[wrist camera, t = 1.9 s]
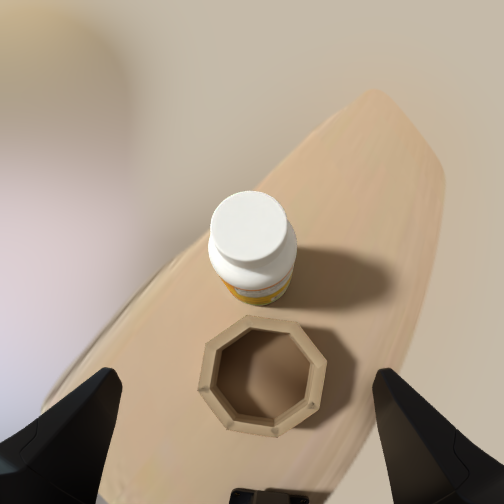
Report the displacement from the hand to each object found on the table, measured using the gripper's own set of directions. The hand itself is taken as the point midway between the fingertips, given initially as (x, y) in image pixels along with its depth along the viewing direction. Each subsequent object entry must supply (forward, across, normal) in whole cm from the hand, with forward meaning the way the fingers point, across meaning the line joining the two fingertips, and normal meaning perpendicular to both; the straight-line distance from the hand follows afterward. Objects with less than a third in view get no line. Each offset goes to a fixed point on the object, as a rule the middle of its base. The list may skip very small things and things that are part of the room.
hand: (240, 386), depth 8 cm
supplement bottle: (+15, 0, +4) cm, 16 cm away
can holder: (+9, 0, +10) cm, 13 cm away
